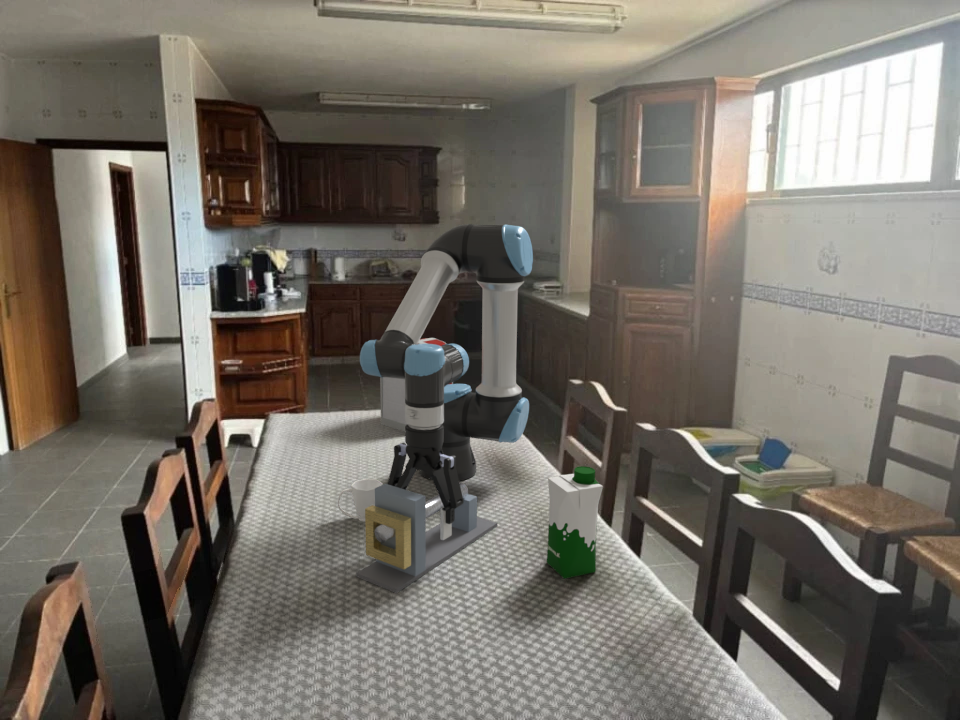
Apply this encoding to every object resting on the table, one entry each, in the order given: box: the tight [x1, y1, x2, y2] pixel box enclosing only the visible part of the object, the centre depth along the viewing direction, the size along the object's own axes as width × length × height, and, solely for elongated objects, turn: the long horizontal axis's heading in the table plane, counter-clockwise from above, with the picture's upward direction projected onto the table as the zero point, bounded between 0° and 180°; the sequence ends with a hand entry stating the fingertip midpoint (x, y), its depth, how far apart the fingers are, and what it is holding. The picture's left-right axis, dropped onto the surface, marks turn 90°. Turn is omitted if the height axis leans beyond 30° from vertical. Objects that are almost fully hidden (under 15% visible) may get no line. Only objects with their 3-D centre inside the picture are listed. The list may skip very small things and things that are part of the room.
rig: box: [355, 483, 498, 594], centre depth 143 cm, size 34×10×16 cm, turn 146°
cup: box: [337, 478, 383, 522], centre depth 158 cm, size 7×10×8 cm
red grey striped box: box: [379, 337, 454, 433], centre depth 226 cm, size 16×18×27 cm
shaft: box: [375, 482, 469, 542], centre depth 141 cm, size 26×3×3 cm, turn 146°
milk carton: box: [546, 465, 604, 580], centre depth 137 cm, size 9×9×20 cm
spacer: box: [364, 505, 411, 569], centre depth 132 cm, size 2×10×10 cm, turn 56°
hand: (424, 530), depth 142 cm, fingers open, 10 cm apart
